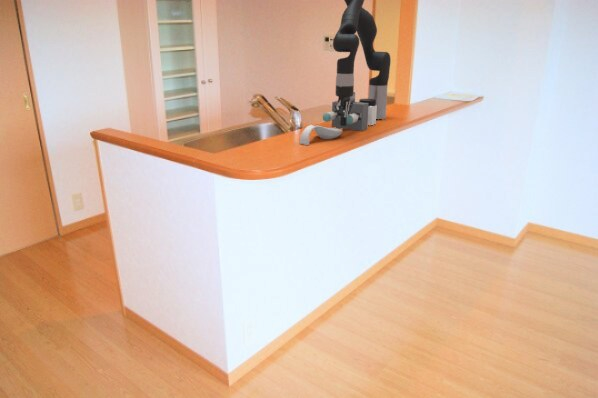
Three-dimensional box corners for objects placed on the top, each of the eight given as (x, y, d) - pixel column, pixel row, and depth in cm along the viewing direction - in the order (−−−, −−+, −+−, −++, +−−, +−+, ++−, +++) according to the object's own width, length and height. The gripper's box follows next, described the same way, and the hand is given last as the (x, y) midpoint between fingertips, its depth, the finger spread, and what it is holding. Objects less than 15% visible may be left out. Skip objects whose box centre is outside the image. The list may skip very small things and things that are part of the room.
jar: (357, 126, 231) (358, 100, 227) (357, 122, 238) (358, 98, 234) (376, 126, 230) (377, 101, 226) (375, 123, 238) (376, 98, 234)
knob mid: (347, 117, 226) (348, 109, 225) (355, 118, 225) (356, 109, 223) (337, 121, 218) (337, 112, 216) (345, 122, 216) (345, 113, 215)
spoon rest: (324, 134, 215) (324, 117, 212) (347, 137, 208) (347, 120, 206) (292, 143, 197) (292, 126, 194) (316, 147, 190) (316, 129, 188)
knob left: (333, 117, 226) (333, 109, 225) (341, 118, 224) (341, 110, 223) (322, 121, 217) (322, 112, 216) (330, 122, 215) (330, 113, 214)
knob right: (354, 120, 221) (355, 111, 219) (362, 120, 219) (363, 112, 217) (344, 123, 212) (344, 114, 211) (352, 124, 210) (353, 115, 209)
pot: (350, 101, 224) (350, 91, 223) (356, 101, 223) (356, 91, 221) (347, 102, 222) (347, 92, 220) (353, 102, 220) (353, 92, 219)
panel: (337, 125, 231) (338, 100, 227) (367, 128, 224) (368, 103, 220) (331, 127, 227) (332, 102, 223) (361, 131, 219) (363, 104, 215)
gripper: (343, 82, 208) (342, 122, 214) (329, 85, 198) (328, 127, 203) (359, 83, 205) (357, 124, 210) (345, 86, 194) (344, 129, 200)
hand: (343, 125), depth 207 cm, fingers closed
